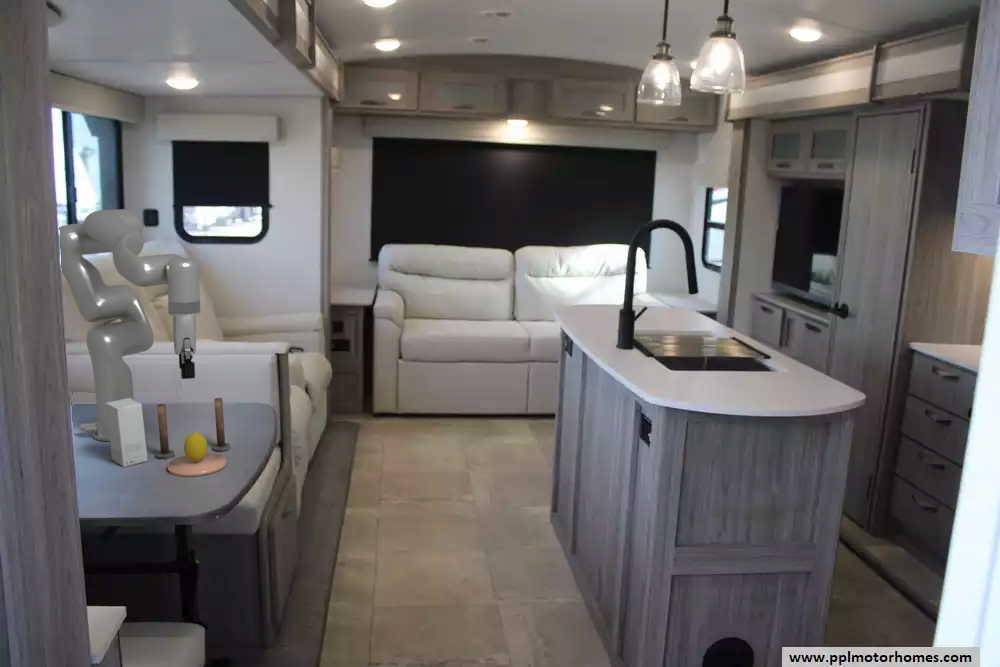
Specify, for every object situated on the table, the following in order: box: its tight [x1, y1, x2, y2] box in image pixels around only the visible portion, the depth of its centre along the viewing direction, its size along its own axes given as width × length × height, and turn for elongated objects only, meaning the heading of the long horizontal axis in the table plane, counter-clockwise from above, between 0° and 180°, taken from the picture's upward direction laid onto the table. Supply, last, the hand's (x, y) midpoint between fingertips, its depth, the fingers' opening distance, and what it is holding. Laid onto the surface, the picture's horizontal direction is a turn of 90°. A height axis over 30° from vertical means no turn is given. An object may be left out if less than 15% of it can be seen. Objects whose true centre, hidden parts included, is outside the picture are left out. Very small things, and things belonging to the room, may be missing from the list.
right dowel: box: [212, 397, 231, 453], centre depth 219 cm, size 4×4×14 cm
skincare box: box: [105, 398, 149, 468], centre depth 209 cm, size 8×7×16 cm
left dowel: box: [155, 403, 175, 460], centre depth 213 cm, size 4×4×14 cm
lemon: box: [183, 431, 209, 463], centre depth 206 cm, size 6×6×8 cm
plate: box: [167, 452, 228, 478], centre depth 207 cm, size 14×14×1 cm
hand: (187, 373), depth 210 cm, fingers open, 9 cm apart
